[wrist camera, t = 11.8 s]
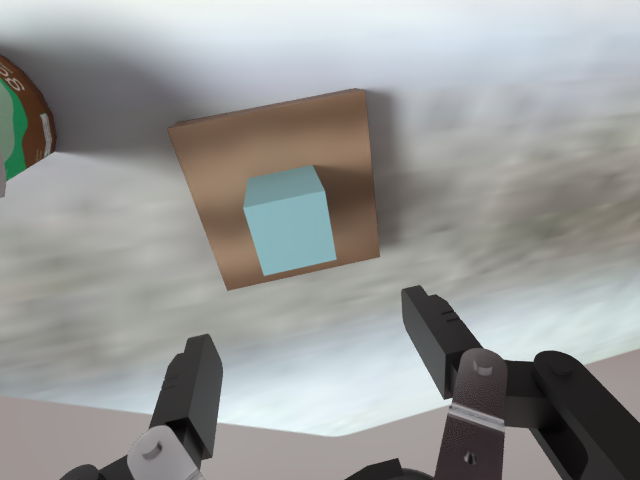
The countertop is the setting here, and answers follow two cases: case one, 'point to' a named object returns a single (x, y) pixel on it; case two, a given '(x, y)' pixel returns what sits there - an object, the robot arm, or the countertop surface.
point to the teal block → (289, 220)
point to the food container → (22, 123)
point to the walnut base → (275, 156)
